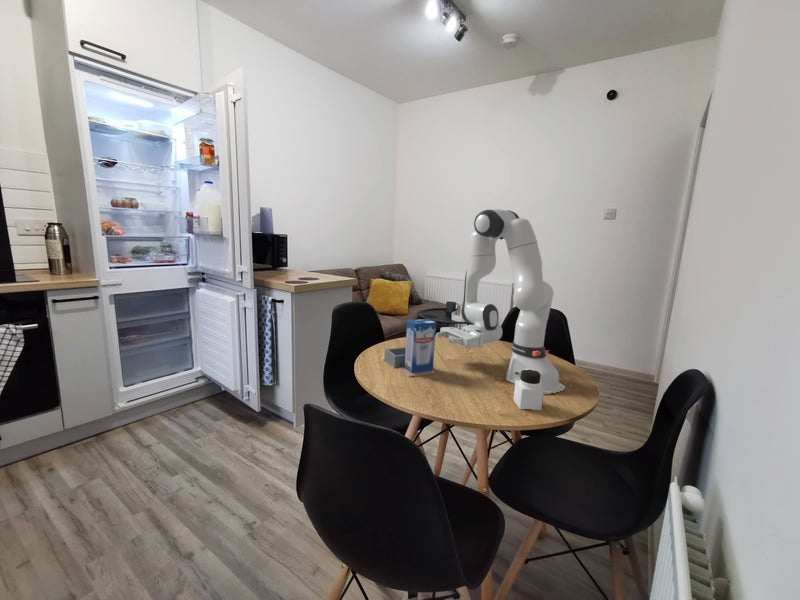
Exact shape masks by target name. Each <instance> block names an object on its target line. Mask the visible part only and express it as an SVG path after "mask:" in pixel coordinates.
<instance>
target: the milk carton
mask: <svg viewBox="0 0 800 600" xmlns="http://www.w3.org/2000/svg"><path fill="white" fill-rule="evenodd" d="M436 330H437V321H435V320H431V319H429V318H422V319H420V318H419V319H407V320H406V331H405V333H406V334H405V347H406V348H405V365H404V368H405V369H406V370H408V371H409V372H411V373H418V372H425V371H431V370H433V371H434V361H435V360H434V358H435V345H436V334H437V331H436Z"/></svg>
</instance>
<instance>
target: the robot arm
mask: <svg viewBox="0 0 800 600" xmlns="http://www.w3.org/2000/svg"><path fill="white" fill-rule="evenodd" d="M473 226H474V227H473V228H474V231H473V232H471V234H470V238H469V251H468V253H469V256H468V257H469V261H468V268H467V269H466V271H465V276H464V287H463V289H464V290H463V291H464V292H463V301H462V306H461V311H460V313H461V317H462V320H463V321H464V322H466V323H467V324H468V325H464V326H463V327H461V329H460V328H457V327H455V326H443V327H440V329H439V330H440V331H439V332H436V333H435V337H437V338H442V337H443V338H445V339H448V340H449V341H448V342H449V343H450V344H457V345H460V346H464V347H466V348H471V349H472V348H478V349H481V348H484V345H487V344H492V343H495V342H497V341H499V340H500V339H501V338H502V337H503V328H502V326H501V325H500V322H499V311H498V308H497V307H496V306H495V305H494V304H492V303H486V302H485V303H484V302H479V301H478V288H479V287H478V286H479V282H480V280H482V279H483V278H485V277H487V276H488V275H490V274H491V273H493V271H494V269H495V268H496V264H497V256H496V243H497V241H498V240H504V241H505V243H506V248H507V252H508V257H509V261H510V266H511V271H512V280H513V281H512V282H513V294H512V301H513V303H514V305H515V306H516V308H517V309H519V310H520V311H519V313H518V317H517V320H516V323H515V328H514V336H513V337H514V339H513V341H512V344H511V351H512V352H511V357H510V360H509V366H508V368H507V371H506V372H505V375H506V377H505V381H508V382H510V383H512V384H514V385H515V381H516V380H518V381H520V378H521V371H522V370H523V369H533V370H536V371H538V372H539V373H540V374H541V377H540V387H541V388H542V389H543V390H544V395H552V394H551V393H554V394H557V393H556V392H559V393H561V392H560V391H562V392H564V391H565V390H564V389H566V386H565V385H564V384H562V383H561V382H560V375H559V371H558V369H556V367H555V366H554V364H552V362H551V361H550V360H549V359H548V357H547V354H549V353H550V352H549V351H550V349H549V350H546V347H545V345H544V343H545V336H546V329H547V324H548V320H549V315H550V311H551V308H552V302H553V297H554V289H553V287H552V286H551V285H550V284H549V283H548V282H546V281H544V280H543V260H542V255H541V251H540V248H539V244H538V240H537V237H536V235H535V231H534V229H533V226H532V224H531V223H530V221H529V220H528V219H527V218H523V217H520V216H519V215H518V213H516V212H514V211H512V210H510V209H509V210H508V209H507V210H505V209H501V208H500V209H499V208H498V209H497V208H496V209H495V208H494V209H484V210H482V211H480V212H478V213H477V215H475V217H474V221H473ZM563 390H564V391H563Z"/></svg>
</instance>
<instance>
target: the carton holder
mask: <svg viewBox="0 0 800 600" xmlns="http://www.w3.org/2000/svg"><path fill="white" fill-rule="evenodd" d="M405 348H406V346H402V347H393V348H385V349H384V359H383V360H384V361H385V362H386V363H387V364H389V365H390V366H391V367H392V366H393V369H398V367H399V368H400V367H404V365H405Z"/></svg>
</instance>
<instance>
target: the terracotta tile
mask: <svg viewBox="0 0 800 600" xmlns="http://www.w3.org/2000/svg"><path fill="white" fill-rule="evenodd" d="M397 369H398V370H399V371H400V372H401V371H402V372H401V373H402V374H404V375H405V374H406V375H405V376H407V377H408V378H413V377H412V376H414V377H419V375H420V376H427V375H432V374H436V370H434V369H433V370H431V371H425V372H418V373H411V372H409V371H408V370H406V369H405V368H404V367H399V368H397ZM426 374H427V375H426Z"/></svg>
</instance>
